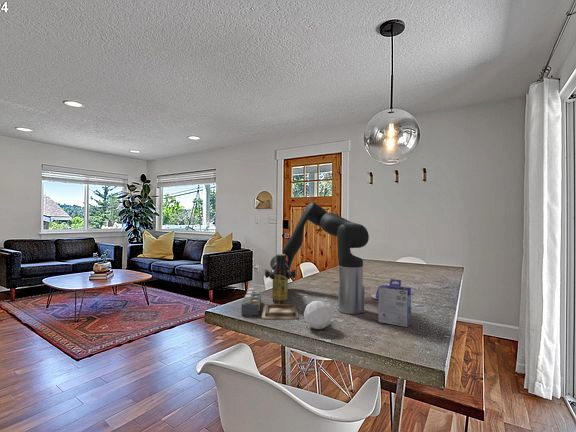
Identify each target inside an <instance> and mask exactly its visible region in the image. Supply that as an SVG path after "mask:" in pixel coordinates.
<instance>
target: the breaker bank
mask: <svg viewBox="0 0 576 432" xmlns="http://www.w3.org/2000/svg"><path fill="white" fill-rule="evenodd" d="M254 288H255V287H249V288H248V289H247V291H246V293H245V295H244V297H243V298H244V299H243V301H242V302H241V313H240V314H241V315H258V316H259V314H258V313H260V309H261V305H262V292H255V289H254Z"/></svg>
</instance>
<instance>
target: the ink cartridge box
mask: <svg viewBox="0 0 576 432" xmlns="http://www.w3.org/2000/svg"><path fill="white" fill-rule="evenodd" d="M393 282H396V283H393ZM379 286H380V287H379ZM379 286H378V287H379V299H378V303H377V304H378V305H377V306H378V307H377V309H378V312H377V313H378V314H377V315H378V316H377V317H378V318H377V322H378V323H382V324H389V325H393V326H394V325H395V326H398V327H403V328H404V327H405V328H408V327H409V326H410V325H411V324H412V305H411V304H412V297H411V296H412V287H408V286H406V287H405V286H402V280H401V279H394V278H393V279H392V278H391V279H390V281H389V285H387V284H382V285H379Z"/></svg>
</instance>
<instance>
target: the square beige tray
mask: <svg viewBox="0 0 576 432" xmlns="http://www.w3.org/2000/svg"><path fill="white" fill-rule="evenodd" d="M299 319H300V317H299V312H298V307H297V306H295V305H294V303H284V304H276V303H267V304H266V305H265V306H263V309H262V313H261V320H299Z"/></svg>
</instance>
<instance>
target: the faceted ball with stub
mask: <svg viewBox="0 0 576 432" xmlns="http://www.w3.org/2000/svg"><path fill="white" fill-rule="evenodd" d="M303 316H304V320H305V323H306V324H307V325H308V327H310V328H312V329H314V330H315V329H316V330H323V329H324V328H326V327H328V326H329V325H330V323H331V320H332V317H333V314H332V312H331V309H330V306H329V305H328V304H327V303H326V302H324V301H323V300H313V301H311V302H310V303H308V304H307V305H306V307H305V309H304V312H303Z"/></svg>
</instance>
